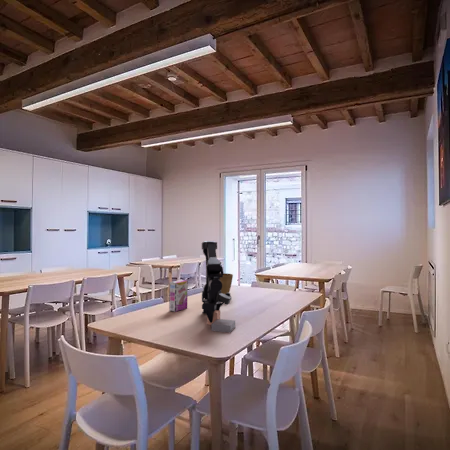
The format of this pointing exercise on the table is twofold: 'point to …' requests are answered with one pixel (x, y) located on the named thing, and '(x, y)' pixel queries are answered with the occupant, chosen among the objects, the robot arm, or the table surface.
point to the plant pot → (226, 282)
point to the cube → (214, 317)
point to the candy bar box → (178, 295)
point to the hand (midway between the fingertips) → (213, 320)
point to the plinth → (223, 325)
